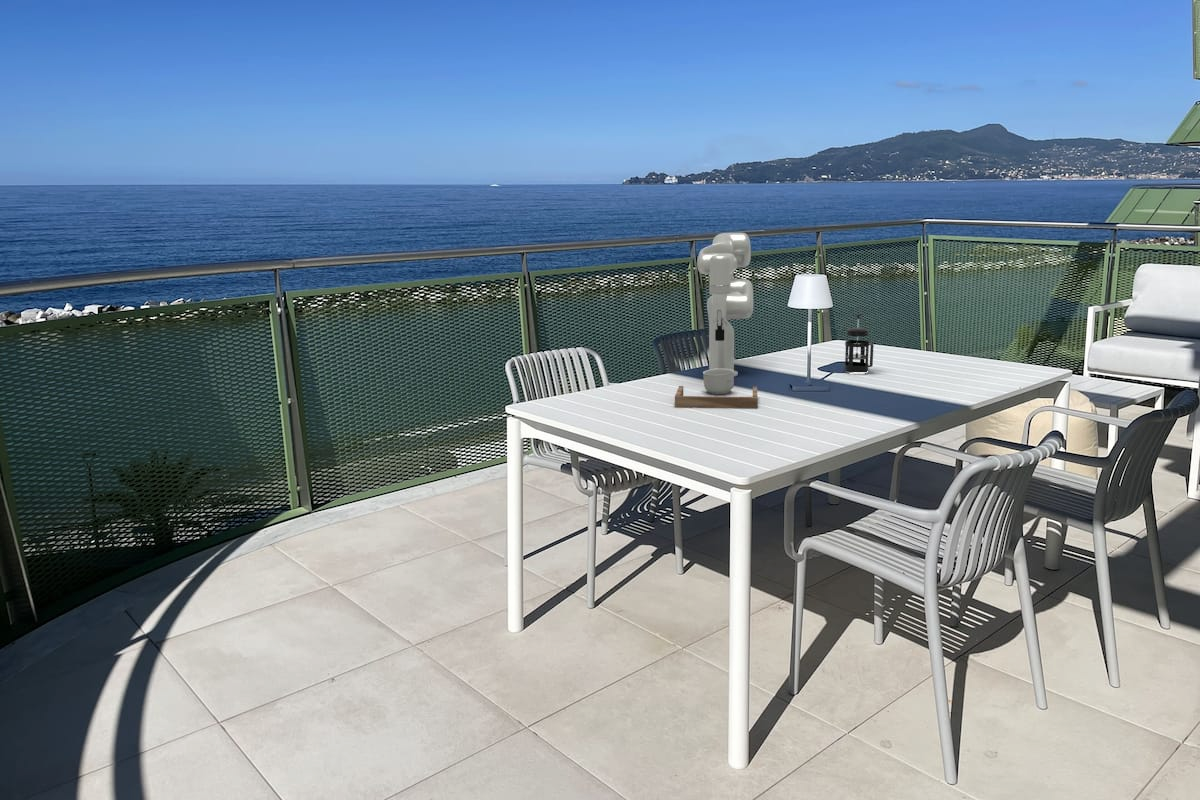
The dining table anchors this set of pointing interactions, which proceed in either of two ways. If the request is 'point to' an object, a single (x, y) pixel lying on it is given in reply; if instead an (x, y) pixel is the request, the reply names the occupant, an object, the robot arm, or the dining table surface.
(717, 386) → the teacup
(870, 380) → the dining table surface
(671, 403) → the dining table surface
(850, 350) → the french press
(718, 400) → the walnut bay
